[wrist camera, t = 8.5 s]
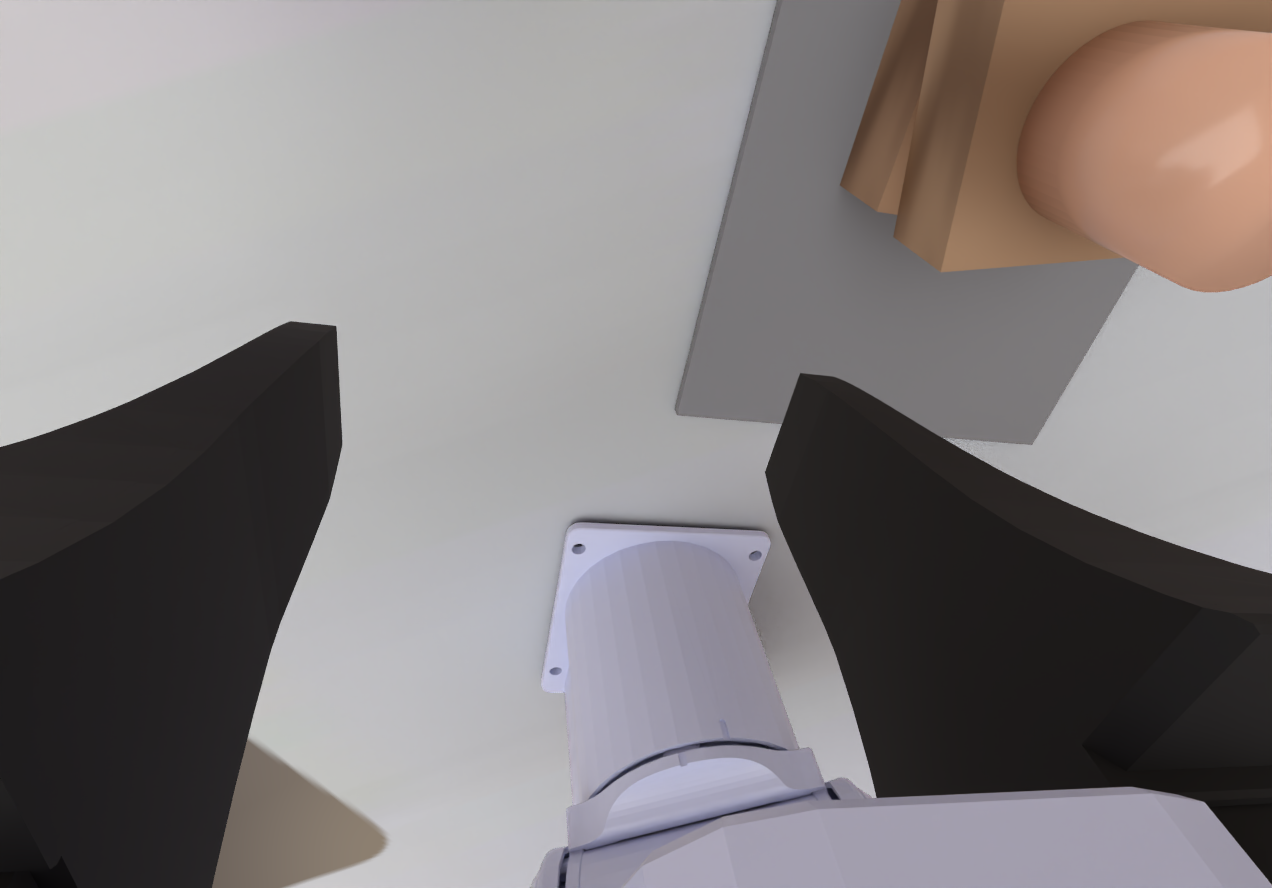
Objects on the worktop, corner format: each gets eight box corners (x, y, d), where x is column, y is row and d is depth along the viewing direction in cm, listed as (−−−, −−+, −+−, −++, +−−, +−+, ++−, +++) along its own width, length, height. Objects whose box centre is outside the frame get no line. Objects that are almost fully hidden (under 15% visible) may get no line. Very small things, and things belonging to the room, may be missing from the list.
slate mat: (1025, 438, 27) (1032, 444, 27) (674, 408, 24) (677, 415, 24) (1321, -68, 18) (1336, -69, 18) (832, -218, 15) (839, -222, 15)
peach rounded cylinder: (1139, 230, 16) (1293, 299, 13) (986, 216, 16) (1110, 285, 12) (1241, 34, 14) (1456, 58, 11) (1070, 6, 14) (1247, 24, 10)
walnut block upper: (1105, 221, 19) (1176, 253, 17) (893, 237, 18) (940, 272, 16) (1203, -52, 16) (1306, -52, 14) (946, -43, 15) (1014, -42, 13)
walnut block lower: (1020, 215, 21) (1073, 243, 19) (839, 185, 20) (876, 211, 18) (1132, -19, 18) (1211, -15, 16) (925, -74, 17) (982, -77, 15)
